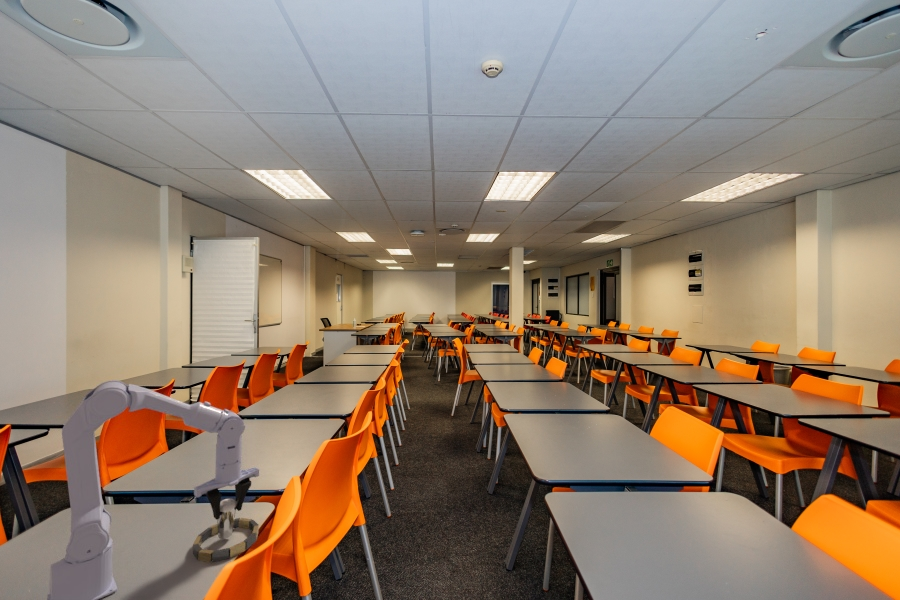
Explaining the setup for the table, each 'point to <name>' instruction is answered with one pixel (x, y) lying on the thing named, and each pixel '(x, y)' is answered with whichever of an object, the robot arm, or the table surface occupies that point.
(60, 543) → the table surface
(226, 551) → the ring
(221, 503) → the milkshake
